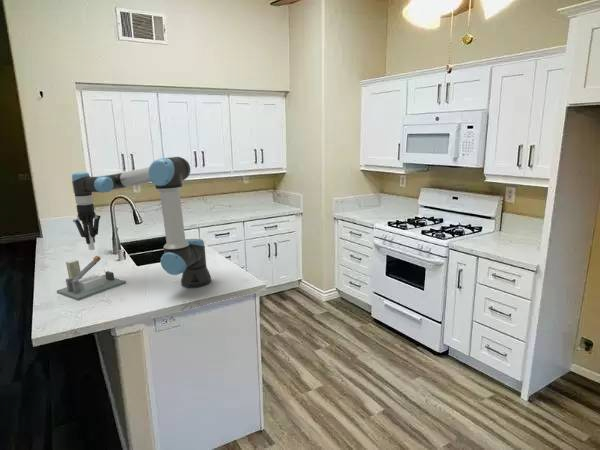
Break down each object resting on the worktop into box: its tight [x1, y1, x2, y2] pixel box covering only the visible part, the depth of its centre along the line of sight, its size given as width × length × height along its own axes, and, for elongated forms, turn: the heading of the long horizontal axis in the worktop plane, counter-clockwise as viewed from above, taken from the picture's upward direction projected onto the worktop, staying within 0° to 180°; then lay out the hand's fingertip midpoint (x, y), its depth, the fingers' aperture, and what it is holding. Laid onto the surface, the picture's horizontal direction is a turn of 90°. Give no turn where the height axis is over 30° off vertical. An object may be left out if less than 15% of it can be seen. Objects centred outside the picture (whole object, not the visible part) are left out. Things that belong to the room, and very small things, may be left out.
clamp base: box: [56, 270, 127, 301], centre depth 199 cm, size 20×25×8 cm
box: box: [65, 259, 82, 279], centre depth 211 cm, size 5×4×11 cm
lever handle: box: [72, 255, 102, 281], centre depth 197 cm, size 3×16×2 cm
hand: (91, 249), depth 198 cm, fingers closed
